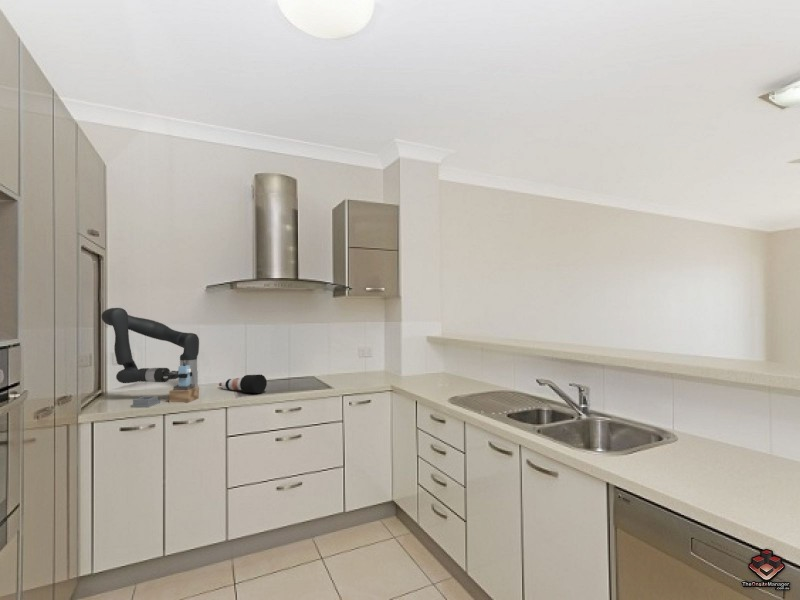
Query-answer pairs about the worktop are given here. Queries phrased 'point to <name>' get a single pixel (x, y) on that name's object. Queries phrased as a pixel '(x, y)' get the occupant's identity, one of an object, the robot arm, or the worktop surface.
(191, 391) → the upper stand
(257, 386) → the black and white bottle
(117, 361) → the robot arm
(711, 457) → the worktop surface
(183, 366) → the plug
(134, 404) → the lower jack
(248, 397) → the worktop surface
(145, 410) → the worktop surface
